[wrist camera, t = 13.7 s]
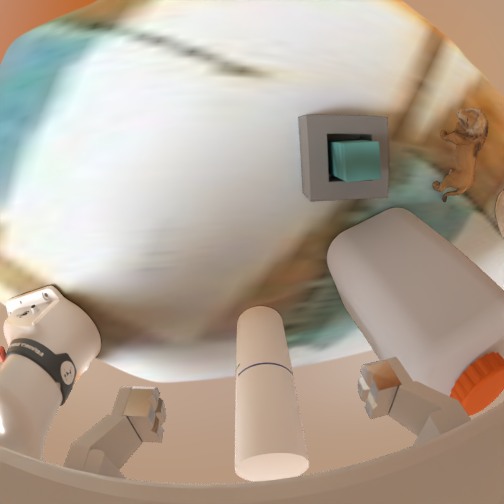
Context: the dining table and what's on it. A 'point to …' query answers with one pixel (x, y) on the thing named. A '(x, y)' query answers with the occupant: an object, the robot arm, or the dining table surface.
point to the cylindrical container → (266, 401)
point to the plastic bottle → (423, 305)
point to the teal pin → (354, 159)
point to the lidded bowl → (500, 212)
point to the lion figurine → (464, 150)
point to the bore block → (316, 156)
